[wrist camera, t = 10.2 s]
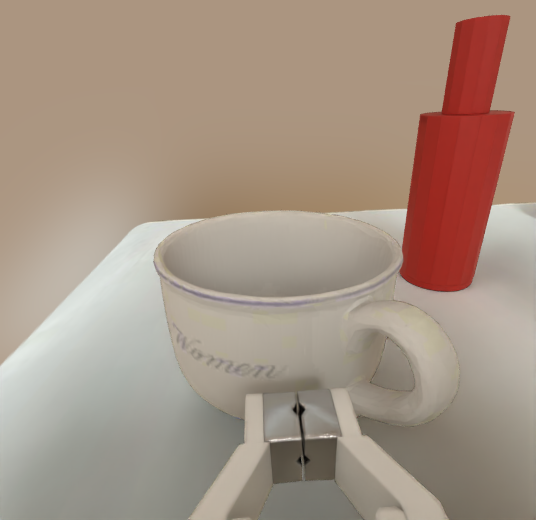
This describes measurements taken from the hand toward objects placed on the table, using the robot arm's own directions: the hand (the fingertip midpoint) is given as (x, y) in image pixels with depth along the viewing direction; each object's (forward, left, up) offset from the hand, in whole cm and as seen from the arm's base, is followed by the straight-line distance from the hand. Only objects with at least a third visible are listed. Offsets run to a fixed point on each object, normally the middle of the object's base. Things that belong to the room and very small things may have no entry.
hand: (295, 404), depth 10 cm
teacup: (-1, -5, -5) cm, 7 cm away
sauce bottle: (-13, -16, -5) cm, 21 cm away
